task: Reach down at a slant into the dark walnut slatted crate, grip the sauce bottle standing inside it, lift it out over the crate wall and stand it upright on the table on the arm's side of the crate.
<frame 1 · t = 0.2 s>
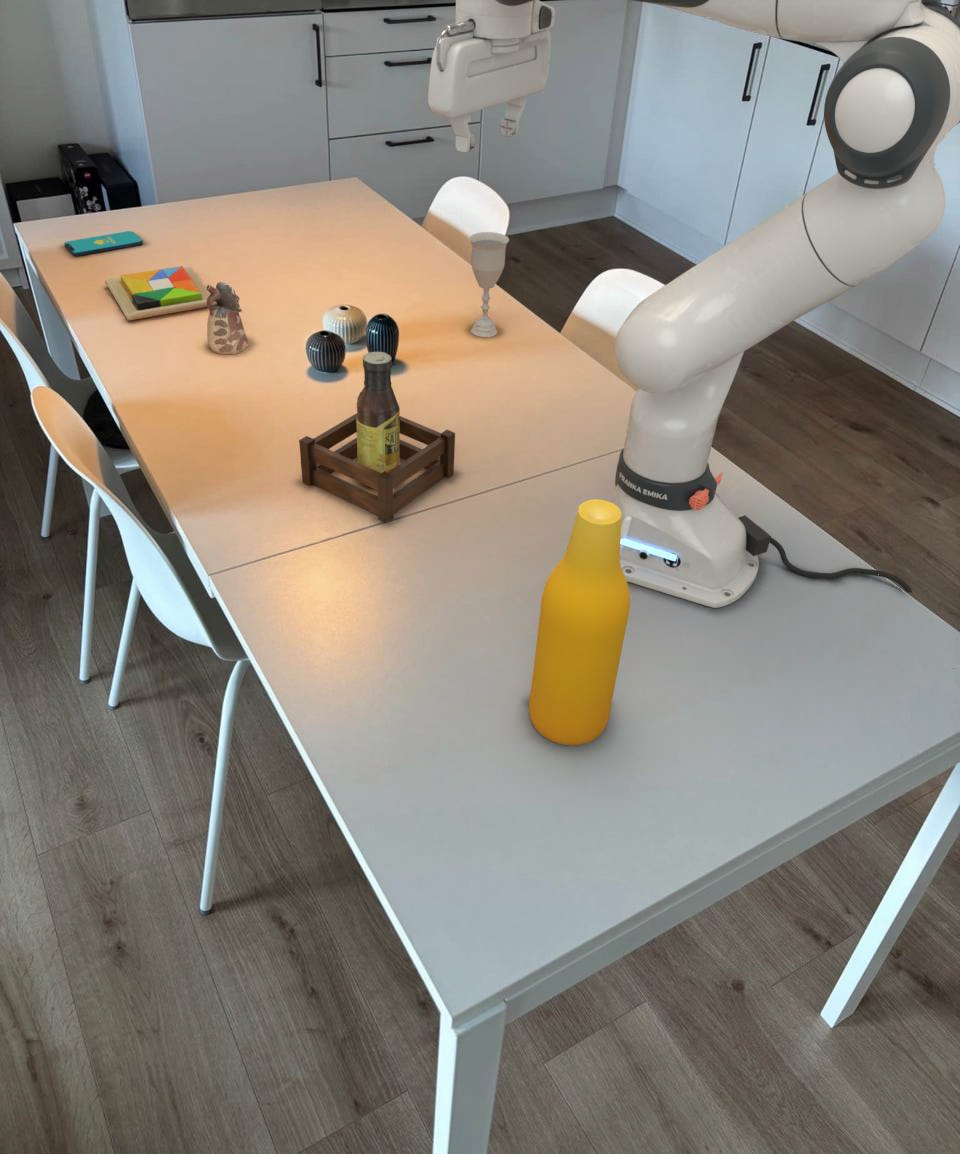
hand: (487, 142, 120), 48 cm above the table, tool pointing down, fingers open, 8 cm apart
beer bottle: (567, 718, 112), on the table
figurine: (228, 346, 179), on the table
chalice: (484, 332, 188), on the table
smartphone: (104, 245, 212), on the table
sauce bottle: (379, 479, 148), resting in crate
wooden puzzle: (161, 298, 193), on the table
crate: (379, 478, 147), on the table
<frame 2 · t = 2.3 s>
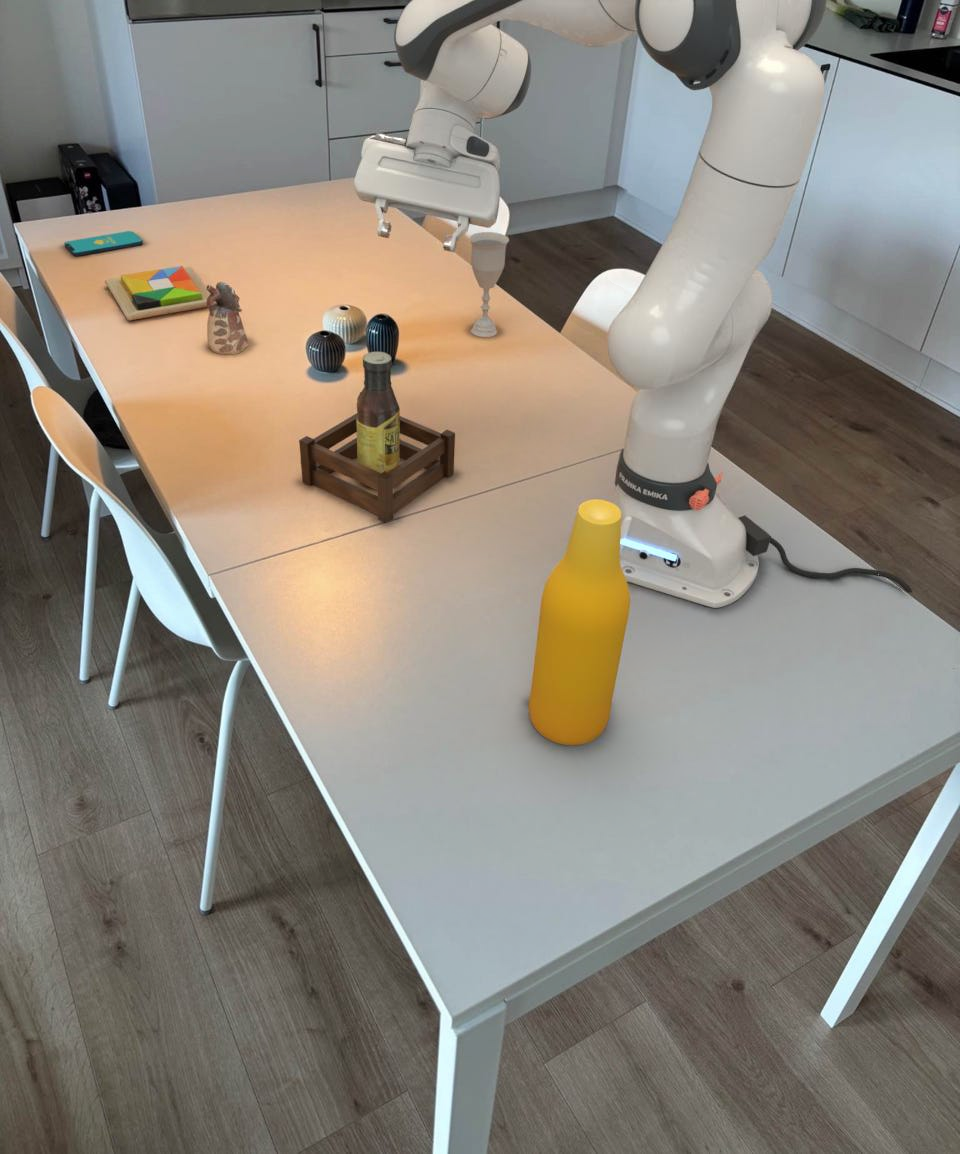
hand: (415, 243, 135), 32 cm above the table, tool tilted 40°, fingers open, 8 cm apart
nothing on the table moved.
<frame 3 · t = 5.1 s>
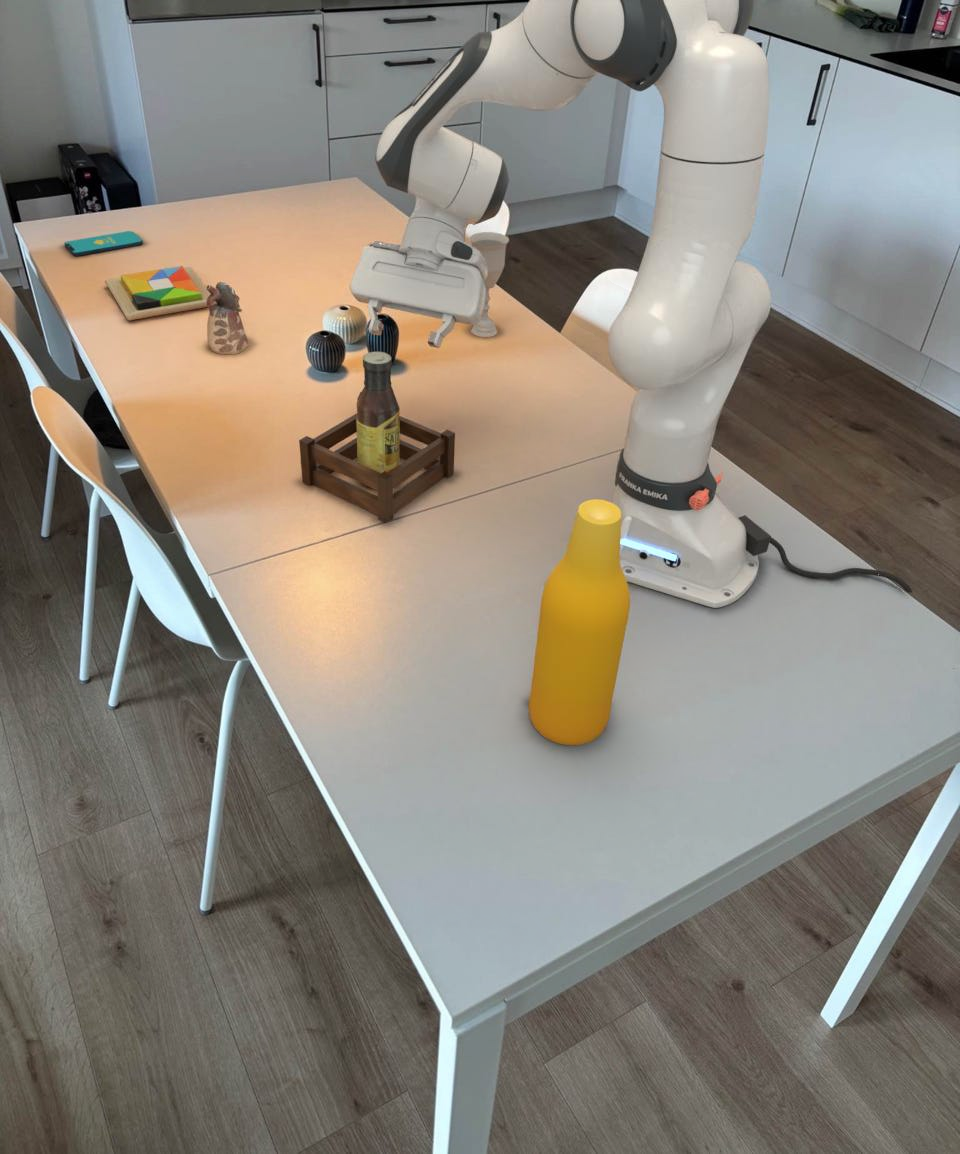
hand: (403, 339, 142), 19 cm above the table, tool tilted 45°, fingers open, 8 cm apart
nothing on the table moved.
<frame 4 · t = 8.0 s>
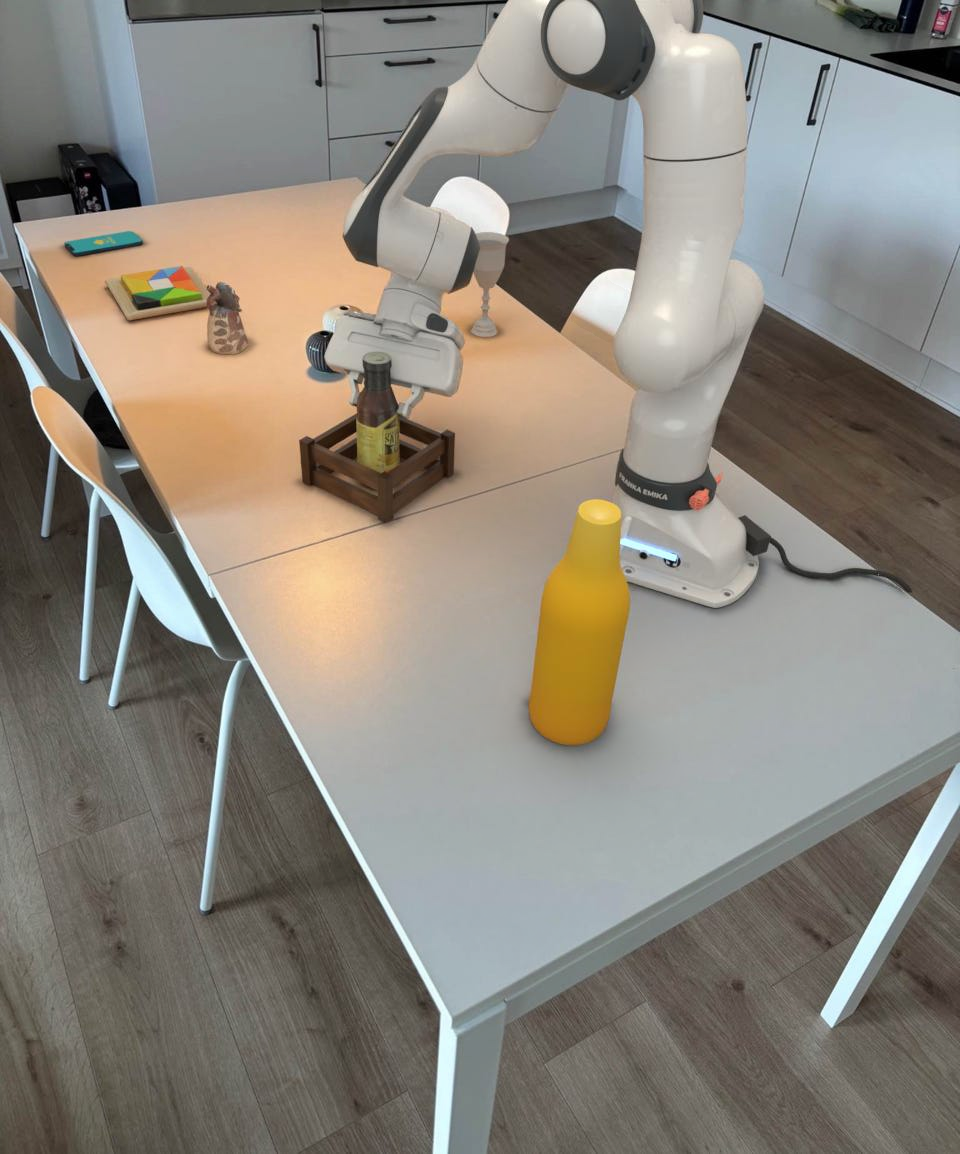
hand: (378, 411, 140), 11 cm above the table, tool tilted 45°, fingers closed on sauce bottle, 6 cm apart
sauce bottle: (379, 479, 148), resting in crate, touching gripper
everything else where it was.
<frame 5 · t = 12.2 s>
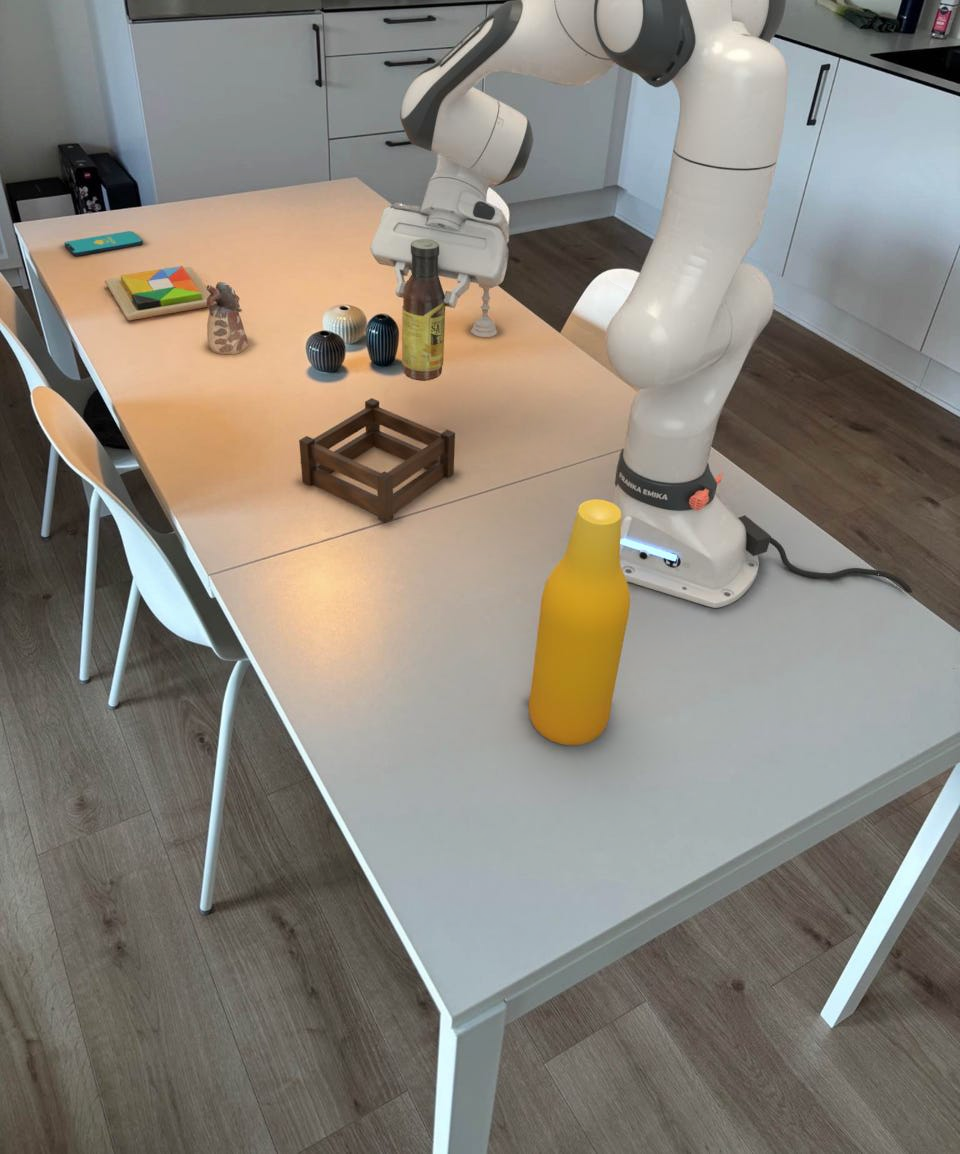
hand: (425, 301, 142), 23 cm above the table, tool tilted 45°, fingers closed on sauce bottle, 6 cm apart
sauce bottle: (422, 374, 149), point 12 cm above the table, touching gripper
everything else where it was.
when the fingers open (11 cm above the table, at t = 16.6 s): sauce bottle stays where it is, on the table.
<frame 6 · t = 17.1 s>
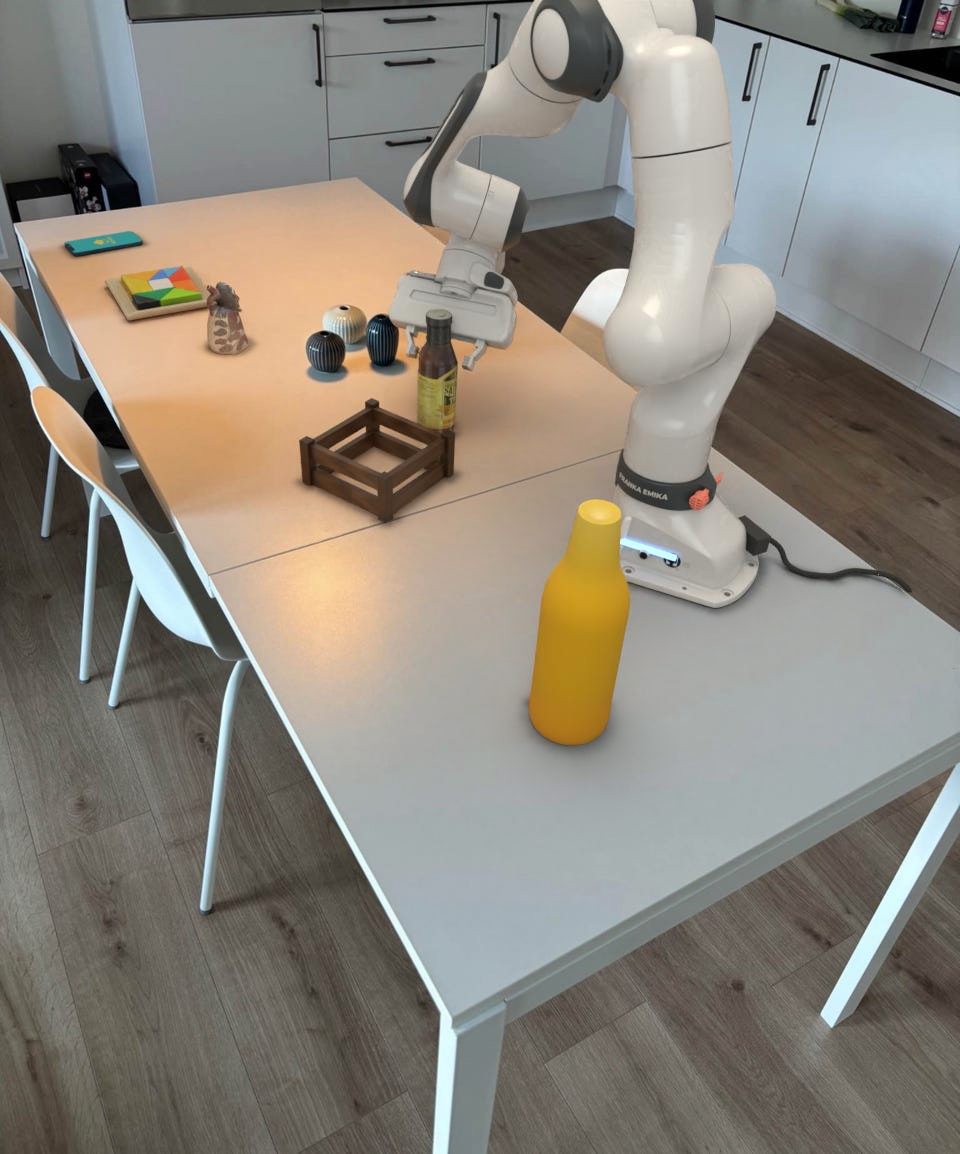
hand: (438, 363, 152), 12 cm above the table, tool tilted 45°, fingers open, 8 cm apart
sauce bottle: (436, 430, 159), on the table
everything else where it was.
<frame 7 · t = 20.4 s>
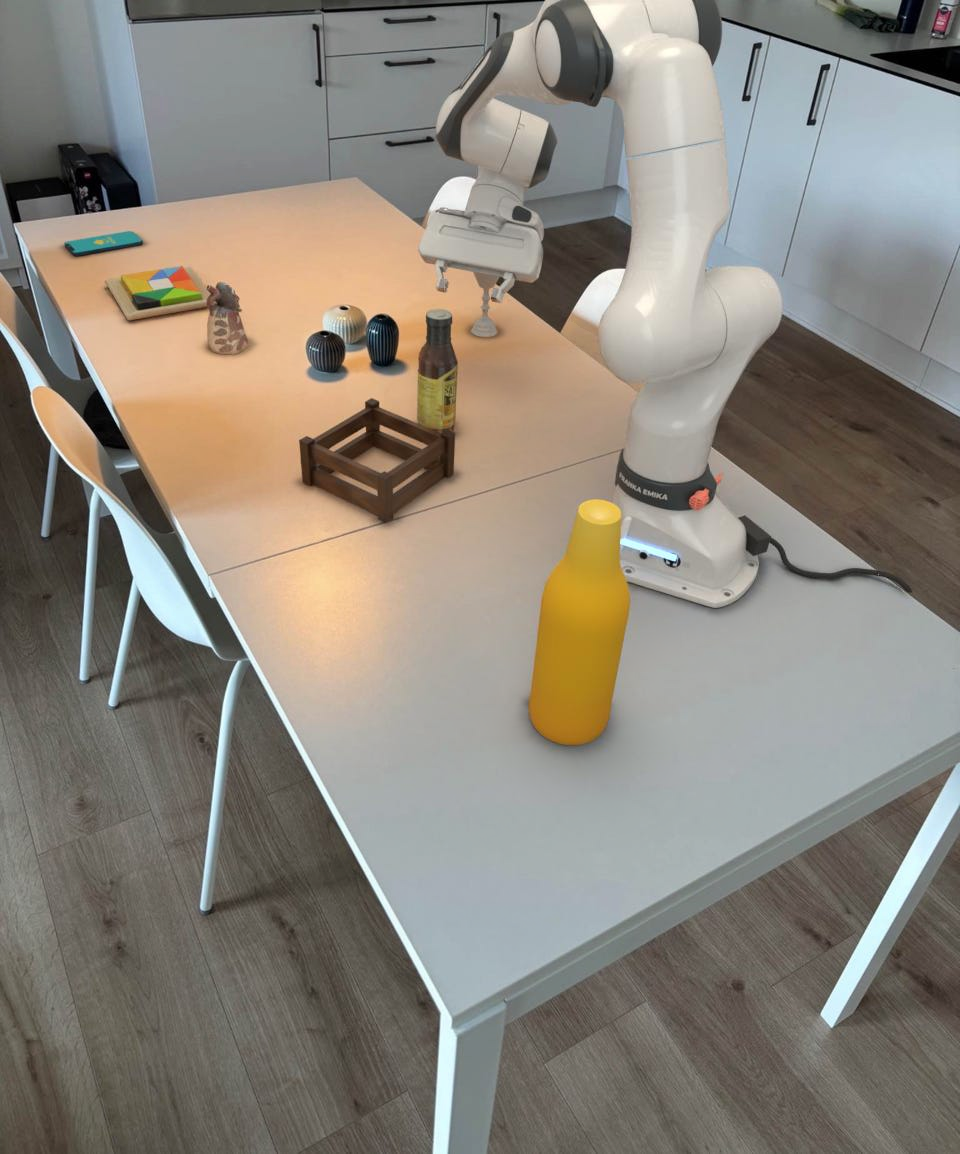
hand: (467, 295, 157), 18 cm above the table, tool tilted 45°, fingers open, 8 cm apart
nothing on the table moved.
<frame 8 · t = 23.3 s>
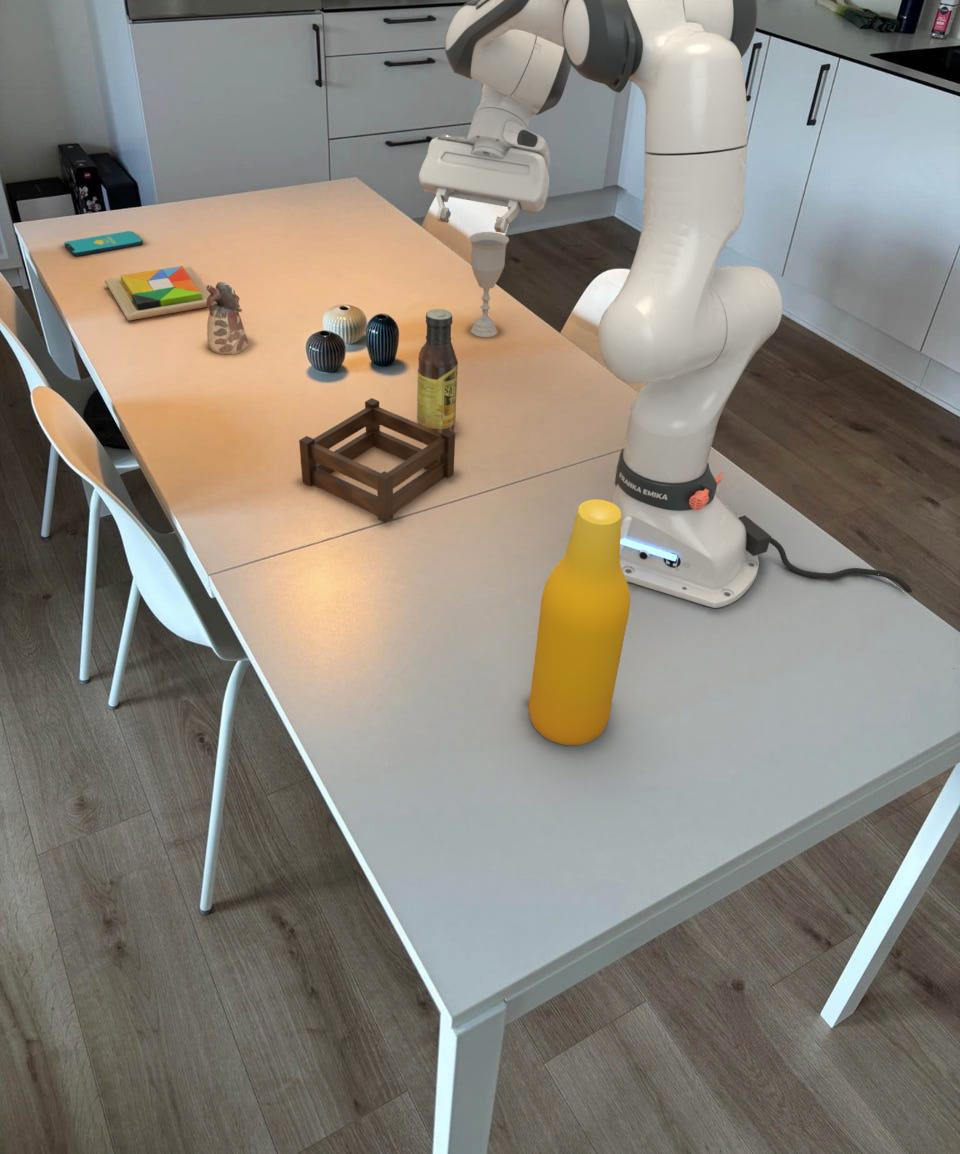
hand: (470, 225, 150), 29 cm above the table, tool tilted 45°, fingers open, 8 cm apart
nothing on the table moved.
at the end: sauce bottle inside the target area (0.5 cm from its centre), on the table; sauce bottle tilted 0°; the gripper is holding nothing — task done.
